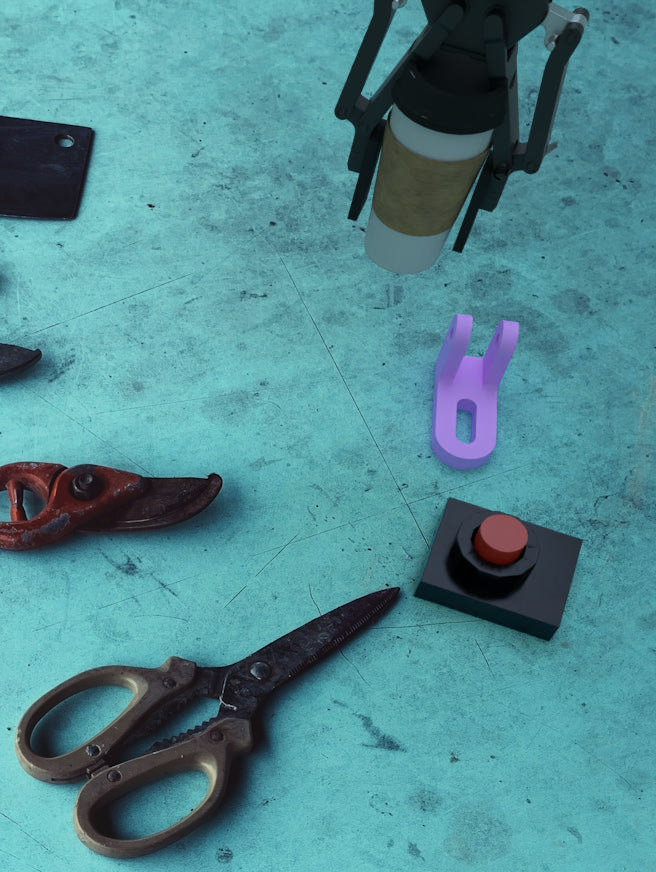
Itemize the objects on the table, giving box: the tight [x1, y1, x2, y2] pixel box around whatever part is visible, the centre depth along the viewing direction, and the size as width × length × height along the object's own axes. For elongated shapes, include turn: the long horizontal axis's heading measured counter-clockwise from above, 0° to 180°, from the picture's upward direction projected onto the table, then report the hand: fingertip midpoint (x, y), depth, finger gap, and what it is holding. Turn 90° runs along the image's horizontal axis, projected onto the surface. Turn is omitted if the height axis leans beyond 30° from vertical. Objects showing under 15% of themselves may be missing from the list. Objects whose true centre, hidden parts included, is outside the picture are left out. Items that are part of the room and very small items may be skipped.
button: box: [474, 514, 528, 565], centre depth 101 cm, size 4×4×2 cm
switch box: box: [412, 496, 584, 642], centre depth 103 cm, size 12×10×4 cm
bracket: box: [430, 313, 520, 471], centre depth 110 cm, size 13×6×7 cm, turn 170°
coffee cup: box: [363, 36, 516, 275], centre depth 87 cm, size 8×8×15 cm
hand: (408, 224), depth 92 cm, fingers closed on coffee cup, 8 cm apart
